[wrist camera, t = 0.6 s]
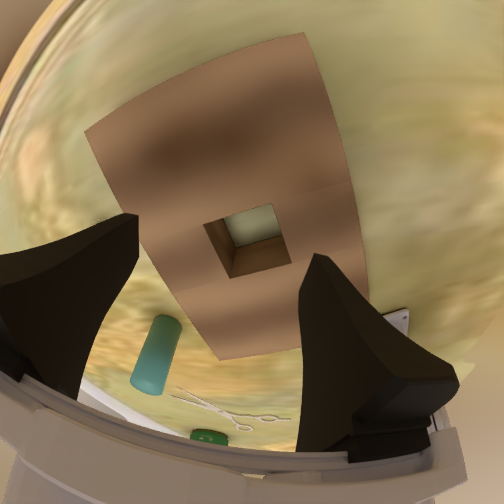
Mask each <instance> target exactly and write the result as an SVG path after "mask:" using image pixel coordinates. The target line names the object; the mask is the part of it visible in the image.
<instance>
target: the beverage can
mask: <svg viewBox="0 0 504 504" xmlns="http://www.w3.org/2000/svg"><path fill="white" fill-rule="evenodd" d="M190 439H192V440H196V441H201V442H206V443H212V444H218V445H224V446H228V440H227V437H226V435H224V434H222V433H219V432H216V431H212V430H203V429H199V430H195V431H194V432H193V433H192V434H191V435H190Z"/></svg>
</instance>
